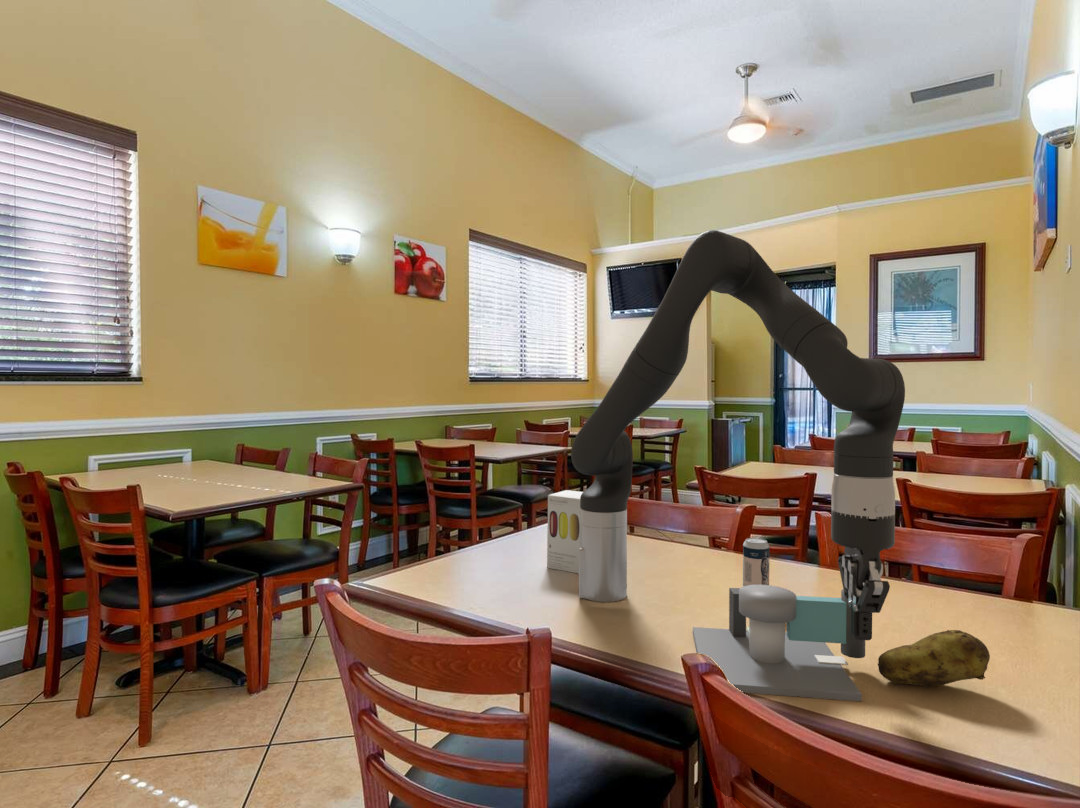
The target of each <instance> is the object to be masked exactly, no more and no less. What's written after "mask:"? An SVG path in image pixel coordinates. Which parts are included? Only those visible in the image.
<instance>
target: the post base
mask: <svg viewBox="0 0 1080 808" xmlns="http://www.w3.org/2000/svg"><path fill="white" fill-rule="evenodd" d="M740 588H741V587H729V588H728V589H729V591H728V592H729V594H728V595H729V599H728V601H729V602H728V603H729V605H728V607H729V608H728V609H729V610H728V611H729V612H728V613H729V614H728V620H729V621H728V628H715V627H699V626H692V636H693V641H694V645H695V646H694V647H695V651H696V654H697V653H700V654H705V655H708V656H709V657H711V658H712V659H713V660H714V661H715V662H716V663H717V664H718V666H720V668H721V669H722V670H723V672H724V674H725V675H726V677H727V679H728V680H729V682H730V683H731V684H733V685H734V686H735V687H736V688H738V689H739V690H741V691H743V692H742V693H744V692H745V693H747V692H748V693H749V694H758V695H759V694H761V695H772V696H786V697H797V696H800V698H810V697H811V698H813V699H823V700H824V699H826V700H835V701H836V700H837V701H851V702H853V701H854V702H862V692H861V691H860V689H859V688H858V686H857V685H856V684H855V682H854V681H853V680H852V678H851V677H850V675H849V674H848V673H847V672H846V670H845V668H844V667H843V666H849V663H848V662H847V660H846V659H845V657H844V656H837V655H835V654H834V653H833V652H832V651H831V649H830V647H829V646H828V645H827V643H825V642H809V641H793V640H789V638H788V637H787V632H786V623H768V622H761V621H756V620H753V619H750V618H748V619H749V623H748V626H747V617H745V616H743V615H742V614H741V613H740V612H739V589H740ZM748 693H747V694H748Z"/></svg>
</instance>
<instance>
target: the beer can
mask: <svg viewBox="0 0 1080 808" xmlns="http://www.w3.org/2000/svg"><path fill="white" fill-rule="evenodd" d="M742 551H743V552H742V587H743V586H747V585H770V545H769V544H768V541H767V540H766V539H764V538H756V537H747V538H746V539H745V540H744V541H743V544H742Z"/></svg>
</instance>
